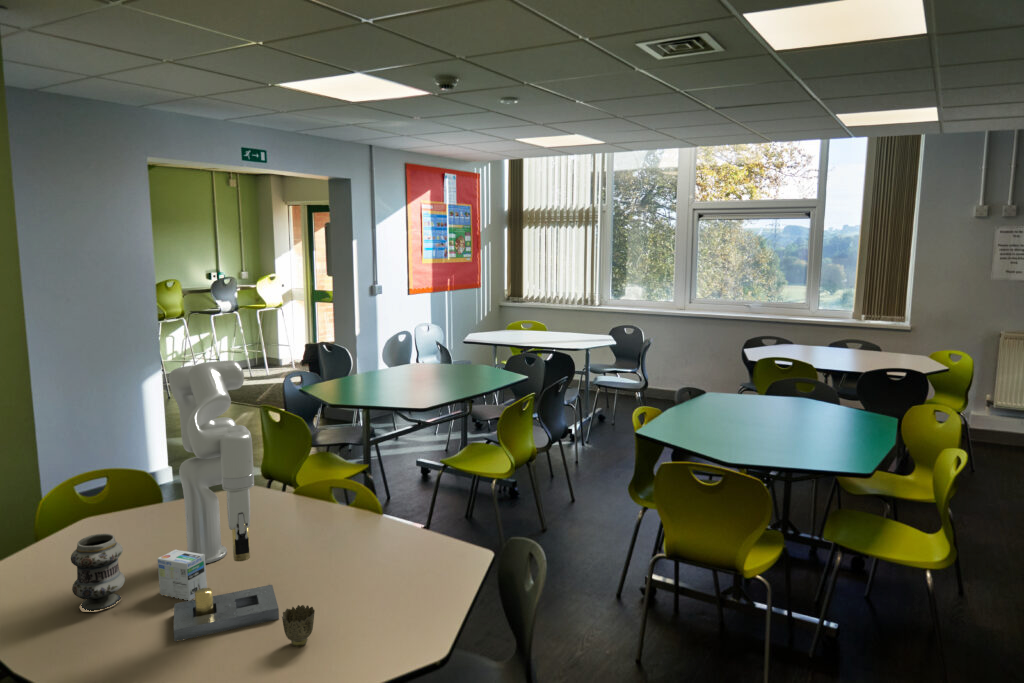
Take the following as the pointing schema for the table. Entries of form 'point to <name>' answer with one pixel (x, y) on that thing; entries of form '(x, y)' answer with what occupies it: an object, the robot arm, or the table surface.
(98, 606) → the apothecary jar
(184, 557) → the light bulb box
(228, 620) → the jig
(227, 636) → the table surface
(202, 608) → the seated bushing
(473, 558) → the table surface
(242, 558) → the brass cylinder
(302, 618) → the cup
